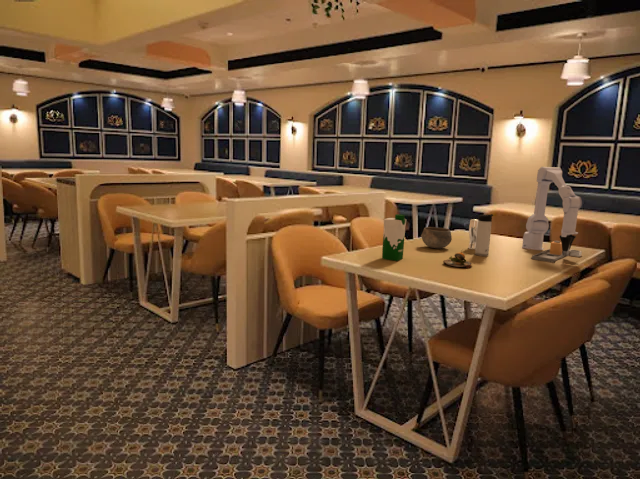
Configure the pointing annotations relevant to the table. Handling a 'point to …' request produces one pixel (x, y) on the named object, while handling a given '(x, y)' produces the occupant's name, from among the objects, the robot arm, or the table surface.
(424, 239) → the bowl
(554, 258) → the lid
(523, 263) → the table surface
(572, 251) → the bracket
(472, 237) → the beer glass
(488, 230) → the travel mug
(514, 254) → the table surface
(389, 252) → the milk carton
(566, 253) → the rod
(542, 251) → the case
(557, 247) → the block
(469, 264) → the burger
